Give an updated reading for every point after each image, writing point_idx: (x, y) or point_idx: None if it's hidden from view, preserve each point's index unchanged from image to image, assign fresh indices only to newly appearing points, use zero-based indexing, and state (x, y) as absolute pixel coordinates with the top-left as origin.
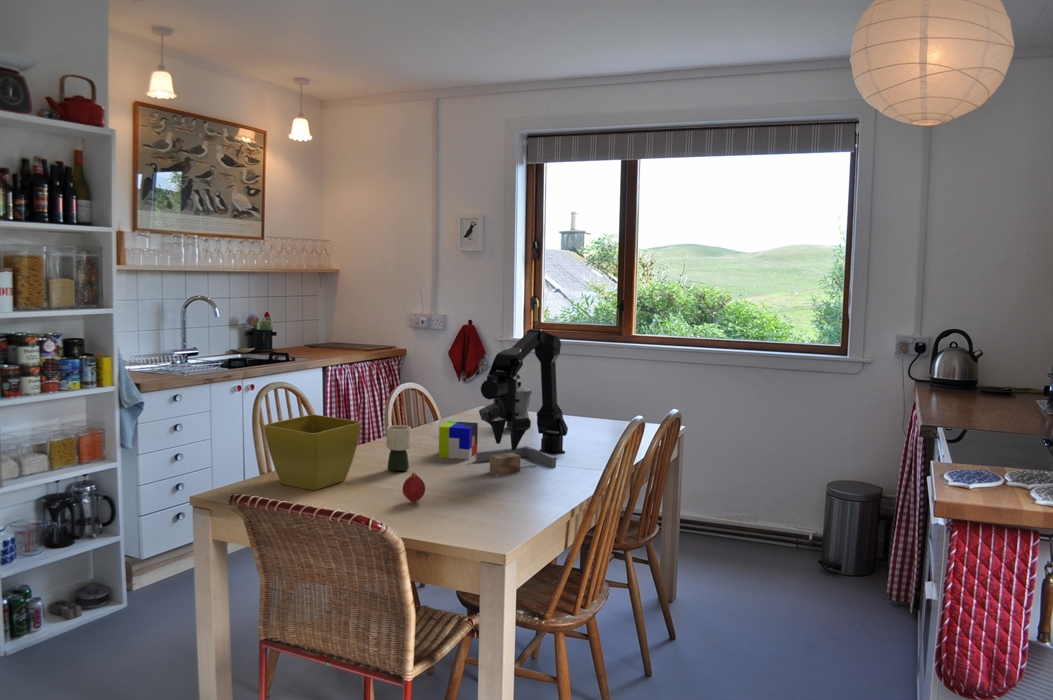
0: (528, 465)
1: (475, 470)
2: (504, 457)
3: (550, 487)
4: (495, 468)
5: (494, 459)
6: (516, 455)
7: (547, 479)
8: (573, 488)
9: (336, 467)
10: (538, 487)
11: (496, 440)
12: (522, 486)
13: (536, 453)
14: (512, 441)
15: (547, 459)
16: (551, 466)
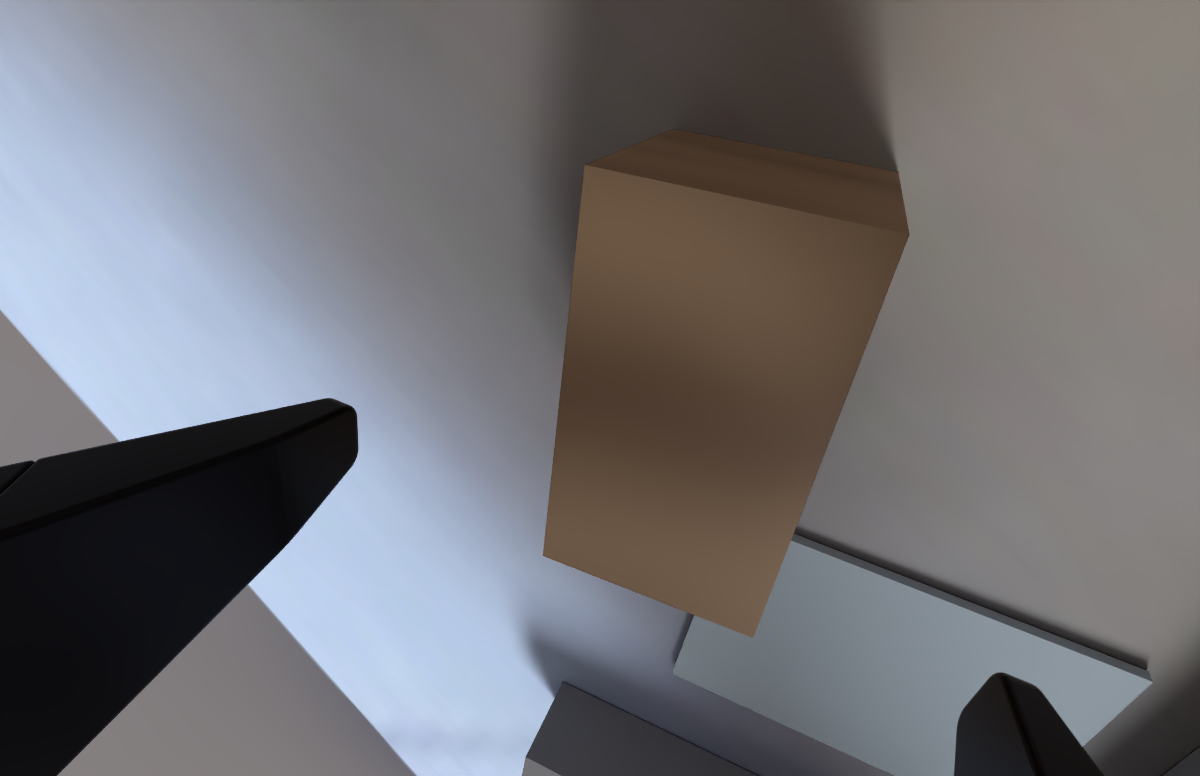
0: (707, 633)
1: (1186, 7)
2: (594, 329)
3: (107, 207)
4: (720, 153)
5: (729, 187)
6: (585, 538)
7: (300, 381)
8: (69, 315)
9: None
10: (120, 121)
11: (1028, 740)
12: (170, 5)
13: None
14: (95, 448)
15: (605, 760)
16: (563, 688)
